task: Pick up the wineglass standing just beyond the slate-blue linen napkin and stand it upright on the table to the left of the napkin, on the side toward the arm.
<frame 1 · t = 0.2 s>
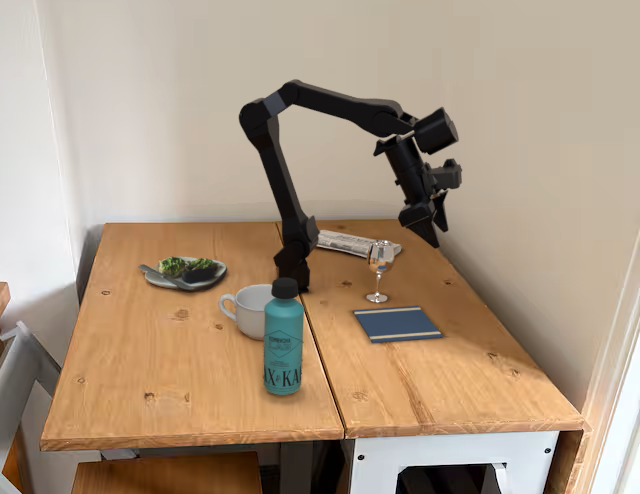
hand: (442, 239, 140), 15 cm above the table, tool tilted 30°, fingers open, 9 cm apart
salad plate: (187, 279, 160), on the table
beverage bottle: (282, 394, 119), on the table
wineglass: (376, 298, 152), on the table
napkin: (396, 324, 141), on the table
newspaper: (353, 249, 178), on the table
teacup: (255, 333, 138), on the table
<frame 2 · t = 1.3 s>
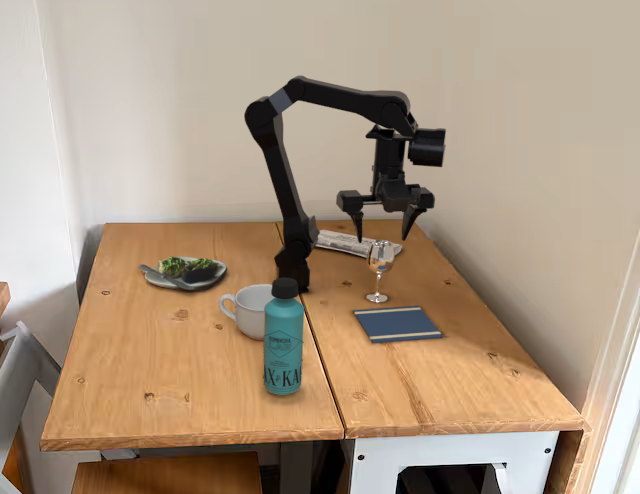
hand: (381, 241, 146), 12 cm above the table, tool pointing down, fingers open, 9 cm apart
nothing on the table moved.
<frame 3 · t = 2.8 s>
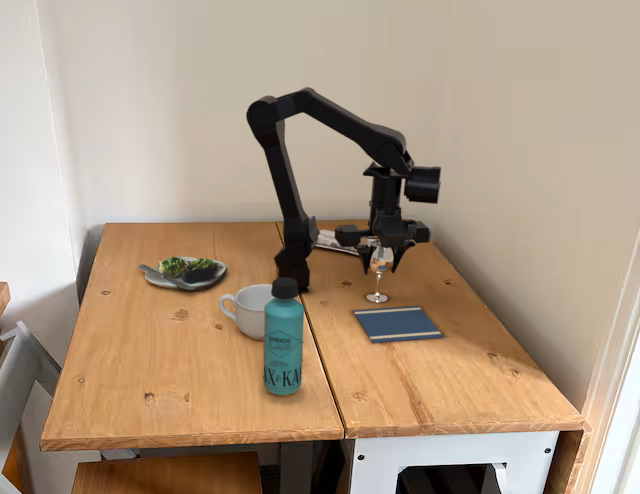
hand: (378, 273, 149), 6 cm above the table, tool pointing down, fingers closed on wineglass, 5 cm apart
wineglass: (376, 298, 152), on the table, touching gripper
everything else where it was.
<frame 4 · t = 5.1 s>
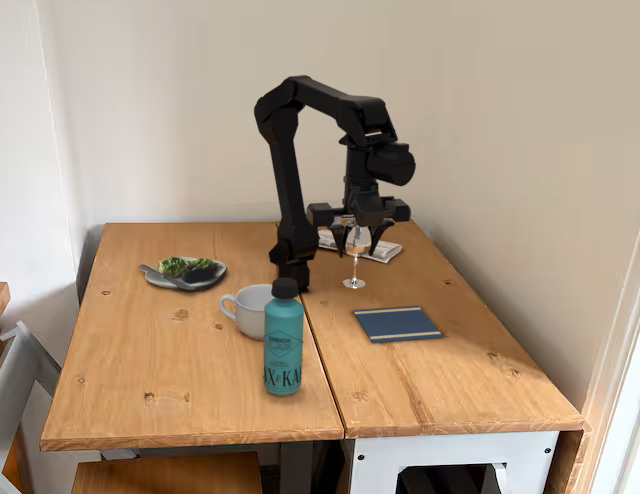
hand: (355, 256, 137), 13 cm above the table, tool pointing down, fingers closed on wineglass, 5 cm apart
wineglass: (353, 284, 140), point 7 cm above the table, touching gripper
everything else where it was.
when the fingers open (5 cm above the table, at t = 7.8 s): wineglass stays where it is, on the table.
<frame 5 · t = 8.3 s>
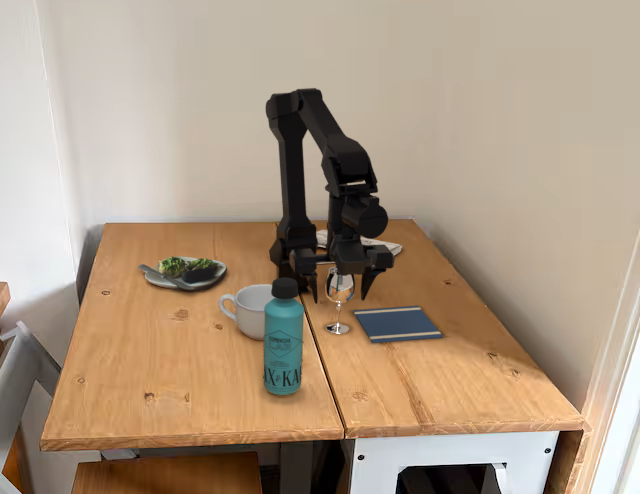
hand: (339, 301, 136), 6 cm above the table, tool pointing down, fingers open, 9 cm apart
wineglass: (337, 329, 140), on the table
everything else where it was.
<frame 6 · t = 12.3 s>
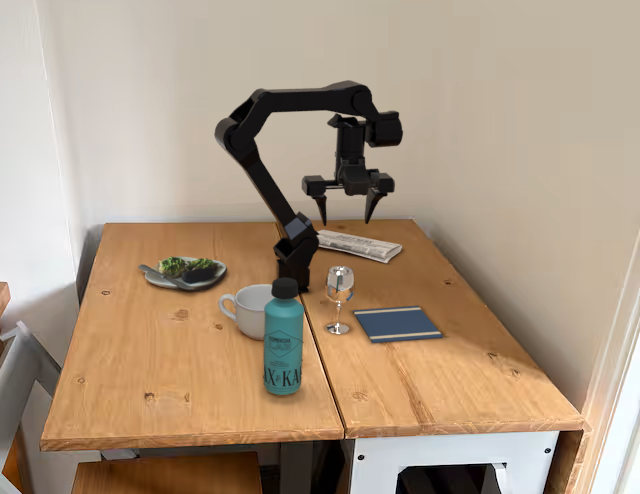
hand: (345, 224, 153), 13 cm above the table, tool pointing down, fingers open, 9 cm apart
nothing on the table moved.
at the end: wineglass inside the target area on the table beside the napkin (1.0 cm from its centre), on the table; wineglass tilted 0°; wineglass touching table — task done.
